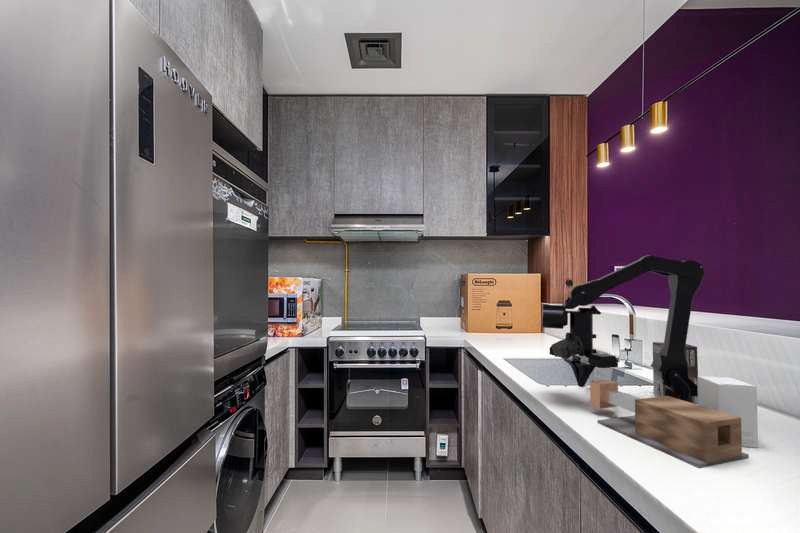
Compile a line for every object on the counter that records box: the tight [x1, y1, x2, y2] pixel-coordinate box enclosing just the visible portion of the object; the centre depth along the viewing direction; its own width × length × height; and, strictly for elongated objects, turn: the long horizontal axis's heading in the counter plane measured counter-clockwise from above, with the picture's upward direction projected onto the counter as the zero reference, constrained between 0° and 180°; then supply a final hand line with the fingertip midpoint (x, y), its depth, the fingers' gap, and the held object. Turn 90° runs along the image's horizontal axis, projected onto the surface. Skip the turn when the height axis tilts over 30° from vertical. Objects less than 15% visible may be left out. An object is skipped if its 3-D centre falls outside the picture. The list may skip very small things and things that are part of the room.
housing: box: [597, 396, 750, 469], centre depth 79 cm, size 22×14×8 cm, turn 19°
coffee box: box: [652, 341, 699, 405], centre depth 107 cm, size 9×6×16 cm
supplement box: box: [697, 375, 759, 449], centre depth 79 cm, size 7×7×13 cm
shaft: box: [589, 379, 642, 413], centre depth 86 cm, size 20×6×6 cm, turn 19°
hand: (581, 386), depth 100 cm, fingers closed
